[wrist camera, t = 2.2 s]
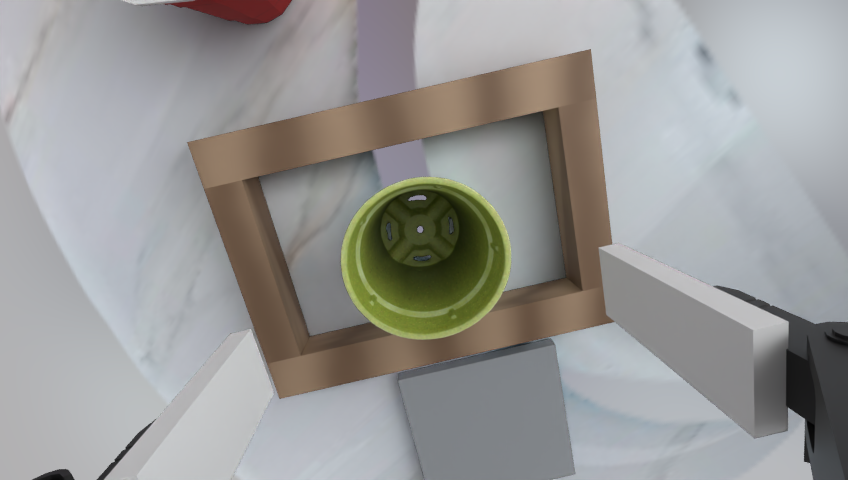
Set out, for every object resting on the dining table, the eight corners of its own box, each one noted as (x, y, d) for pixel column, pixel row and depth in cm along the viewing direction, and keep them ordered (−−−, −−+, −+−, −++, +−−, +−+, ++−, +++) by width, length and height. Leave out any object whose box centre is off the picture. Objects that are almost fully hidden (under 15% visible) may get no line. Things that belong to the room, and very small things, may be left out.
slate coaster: (550, 338, 33) (555, 344, 32) (570, 465, 36) (575, 474, 35) (397, 373, 33) (397, 380, 32) (431, 497, 36) (432, 507, 35)
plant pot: (486, 279, 32) (516, 329, 23) (367, 294, 31) (354, 350, 23) (476, 159, 29) (505, 166, 21) (348, 175, 29) (326, 188, 21)
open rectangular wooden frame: (571, 58, 28) (590, 49, 25) (600, 304, 33) (620, 320, 30) (209, 142, 28) (187, 142, 25) (290, 375, 33) (279, 398, 30)
